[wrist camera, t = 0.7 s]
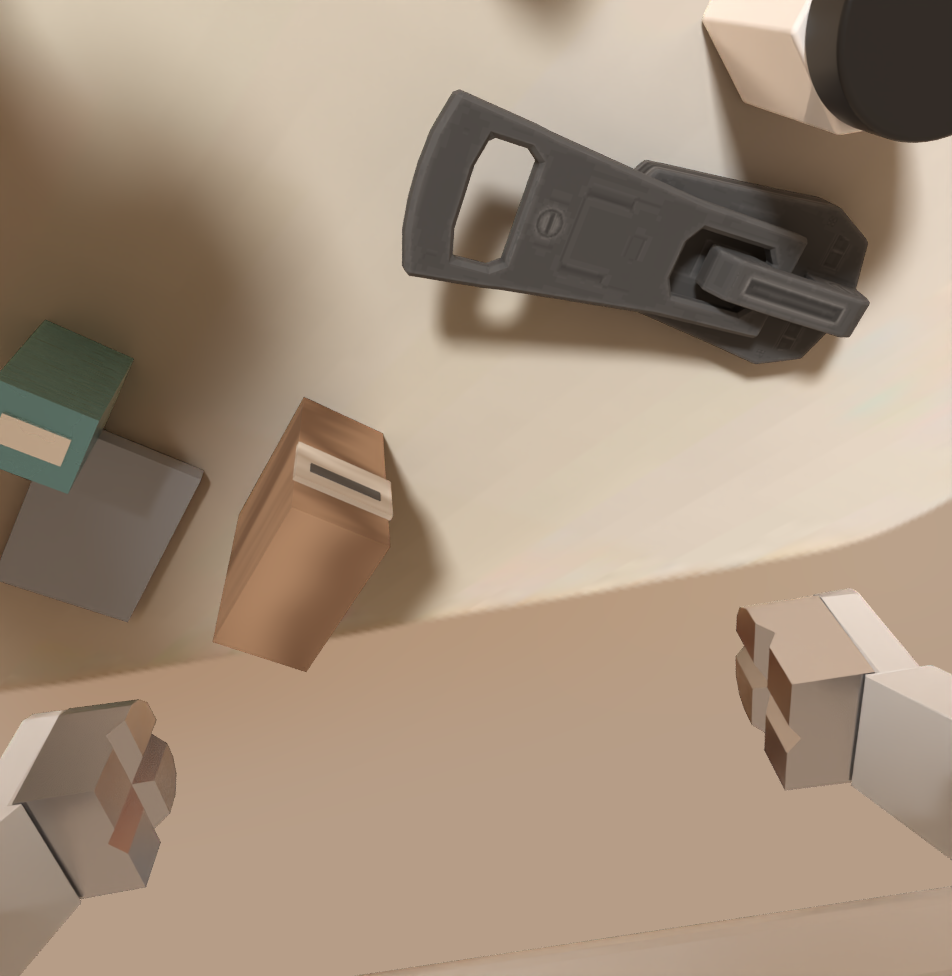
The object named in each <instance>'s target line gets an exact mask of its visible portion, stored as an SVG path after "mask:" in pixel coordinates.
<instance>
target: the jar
mask: <svg viewBox="0 0 952 976" xmlns="http://www.w3.org/2000/svg"><path fill="white" fill-rule="evenodd" d="M702 20H703V24H704V26H705V27H706V29H707V31H708V33H709V35H710V37H711V39H712V41H713V43H714V45H715V47H716V49H717V51H718V53H719V55H720V57H721V59H722V61H723V63H724V65H725V67H726V69H727V71H728V73H729V75H730V77H731V79H732V81H733V83H734V85H735V87H736V89H737V91H738V93H739V95H740V97H741V99H742V100H743V102H744V103H747V104H749V105H752V106H755V107H758V108H761V109H764V110H767V111H770V112H773V113H775V114H778V115H781V116H784V117H787V118H790V119H793V120H796V121H798V122H801V123H804V124H807V125H810V126H813V127H816V128H819V129H822V130H824V131H827V132H830V133H833V134H836V135H843V134H849V133H855V132H861V131H865V132H869V133H872V134H875V135H878V136H881V137H884V138H887V139H891V140H894V141H899V142H908V143H918V142H928V141H933V140H938V139H942V138H945V137H948V136H951V135H952V0H710V2H709V4H708V6H707V8H706V11H705V13H704V15H703V17H702Z"/></svg>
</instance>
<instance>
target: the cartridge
mask: <svg viewBox="0 0 952 976" xmlns="http://www.w3.org/2000/svg"><path fill="white" fill-rule="evenodd" d="M133 360H134V359H133V358H131V357H128V356H126V355H124V354H122V353H119V352H117V351H115V350H113V349H110V348H108V347H106V346H104V345H101V344H99V343H97V342H95V341H92V340H90V339H88V338H86V337H83V336H81V335H79V334H76V333H74V332H72V331H70V330H67V329H65V328H63V327H61V326H58V325H56V324H54V323H52V322H49V321H47V320H45V321H44V322H43V323H42V324H41V325H40V326H39V327H38V329H37V330H36V331H35V332H34V333H33V334H32V335H31V337H30V338H29V339H28V340H27V341H26V342H25V344H24V345H23V346H22V347H21V348H20V349H19V350H18V352H17V353H16V354H15V355H14V356H13V357H12V358H11V360H10V361H9V362H8V363H7V364H6V365H5V367H4V368H3V369H2V370H1V371H0V469H1V470H4V471H7V472H9V473H12V474H15V475H18V476H20V477H23V478H26V479H28V480H31V481H34V482H37V483H39V484H42V485H45V486H47V487H50V488H53V489H56V490H58V491H61V492H64V493H66V494H68V493H69V491H70V490H71V488H72V486H73V484H74V482H75V480H76V478H77V477H78V475H79V473H80V471H81V469H82V467H83V465H84V464H85V462H86V460H87V458H88V456H89V454H90V452H91V451H92V449H93V447H94V445H95V443H96V441H97V439H98V438H99V436H100V434H101V432H102V430H103V428H104V427H105V425H106V422H107V420H108V418H109V415H110V413H111V411H112V408H113V406H114V404H115V401H116V399H117V397H118V394H119V392H120V390H121V387H122V385H123V383H124V381H125V378H126V376H127V374H128V371H129V369H130V367H131V364H132V362H133Z"/></svg>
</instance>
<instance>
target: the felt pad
mask: <svg viewBox="0 0 952 976" xmlns="http://www.w3.org/2000/svg"><path fill="white" fill-rule="evenodd" d="M203 471H204V470H201V469H199V468H196V467H194V466H191V465H189V464H187V463H184V462H182V461H179V460H177V459H174V458H172V457H169V456H167V455H164V454H162V453H159V452H157V451H154V450H152V449H149V448H147V447H144V446H142V445H140V444H137V443H135V442H132V441H130V440H127V439H125V438H122V437H120V436H117V435H115V434H112V433H110V432H107V431H105V430H102V432H101V434H100V436H99V438H98V439H97V441H96V443H95V445H94V447H93V449H92V451H91V452H90V454H89V456H88V458H87V460H86V462H85V464H84V465H83V467H82V469H81V471H80V473H79V475H78V477H77V478H76V480H75V482H74V484H73V486H72V488H71V490H70V491H69V493H68V494H66V493H64V492H61V491H58V490H56V489H53V488H50V487H47V486H45V485H42V484H39V483H37V482H34V481H32V482H31V484H30V487H29V489H28V492H27V494H26V497H25V499H24V502H23V504H22V507H21V509H20V512H19V514H18V517H17V519H16V522H15V524H14V527H13V529H12V532H11V534H10V537H9V539H8V542H7V544H6V547H5V549H4V552H3V554H2V557H1V559H0V582H3V583H6V584H9V585H12V586H15V587H19V588H22V589H25V590H28V591H31V592H34V593H37V594H41V595H44V596H47V597H50V598H53V599H56V600H59V601H63V602H66V603H69V604H72V605H75V606H78V607H81V608H85V609H88V610H91V611H94V612H97V613H100V614H103V615H106V616H110V617H113V618H116V619H119V620H122V621H125V622H128V621H129V619H130V617H131V615H132V613H133V611H134V609H135V607H136V606H137V604H138V602H139V600H140V598H141V596H142V594H143V592H144V590H145V588H146V586H147V584H148V582H149V580H150V578H151V576H152V574H153V572H154V570H155V568H156V567H157V565H158V563H159V561H160V559H161V557H162V555H163V553H164V551H165V549H166V547H167V545H168V543H169V541H170V539H171V537H172V535H173V533H174V531H175V529H176V527H177V526H178V524H179V522H180V520H181V518H182V516H183V514H184V512H185V510H186V508H187V506H188V504H189V502H190V500H191V498H192V496H193V494H194V492H195V490H196V488H197V487H198V485H199V483H200V481H201V478H202V475H203Z"/></svg>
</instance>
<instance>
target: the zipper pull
mask: <svg viewBox="0 0 952 976" xmlns="http://www.w3.org/2000/svg"><path fill="white" fill-rule="evenodd" d="M494 138H498V139H501V140H504V141H507V142H510V143H513V144H516V145H519V146H522V147H525V148H528V150H529V151H530V153H531V154H532V156H533V157H534V159H535V162H534V165H533V168H532V171H531V174H530V176H529V179H528V182H527V185H526V188H525V191H524V193H523V196H522V199H521V202H520V205H519V208H518V211H517V213H516V216H515V219H514V222H513V225H512V228H511V230H510V233H509V236H508V239H507V242H506V245H505V248H504V250H503V253H502V256H501V258H498V259H496V260H493V261H491V262H488V263H483V262H479V261H475V260H472V259H468V258H464V257H460V256H456V255H453V240H454V228H455V224H456V221H457V218H458V215H459V212H460V209H461V205H462V202H463V199H464V196H465V193H466V190H467V187H468V183H469V180H470V177H471V174H472V171H473V168H474V165H475V163H476V162H477V160H478V158H479V157H480V155H481V153H482V151H483V150H484V148H485V146H486V145H487V143H488V141H489V140H492V139H494ZM867 245H868V242H867V240H866V238H865V237H864V236H863V234H862V233H861V232H860V231H859V230H858V228H857V227H856V226H855V225H854V224H853V222H852V221H851V220H850V219H849V217H848V216H847V215H846V214H845V213H844V211H843V210H842V209H841V208H840V207H837V206H835V205H833V204H831V203H829V202H827V201H825V200H823V199H821V198H819V197H815V196H810V195H805V194H799V193H794V192H789V191H784V190H779V189H774V188H770V187H765V186H761V185H756V184H752V183H748V182H743V181H739V180H734V179H730V178H725V177H721V176H717V175H712V174H708V173H703V172H699V171H695V170H690V169H686V168H681V167H677V166H673V165H668V164H664V163H658V162H654V161H649V160H644V161H643V162H641V163H640V164H639V165H638V166H637V167H636V168H635V169H633V168H631V167H628V166H626V165H624V164H622V163H620V162H617V161H615V160H613V159H611V158H609V157H606V156H604V155H602V154H600V153H598V152H595V151H593V150H591V149H589V148H587V147H584V146H582V145H580V144H578V143H575V142H573V141H571V140H569V139H567V138H564V137H562V136H560V135H558V134H556V133H553V132H551V131H549V130H547V129H545V128H544V127H542V126H540V125H538V124H536V123H534V122H532V121H529V120H527V119H525V118H523V117H520V116H518V115H516V114H514V113H511V112H509V111H507V110H505V109H502V108H500V107H498V106H496V105H493V104H491V103H489V102H487V101H485V100H482V99H480V98H478V97H476V96H473V95H471V94H469V93H467V92H464V91H462V90H457V91H454V92H452V94H451V96H450V97H449V99H448V101H447V102H446V104H445V106H444V108H443V109H442V111H441V113H440V114H439V116H438V118H437V119H436V121H435V123H434V124H433V126H432V128H431V129H430V132H429V134H428V137H427V140H426V142H425V145H424V147H423V150H422V152H421V155H420V158H419V160H418V163H417V167H416V170H415V173H414V177H413V180H412V184H411V188H410V191H409V195H408V199H407V205H406V211H405V216H404V222H403V227H402V266H403V268H404V270H405V271H406V272H407V274H408V275H409V276H415V277H421V278H427V279H433V280H439V281H445V282H451V283H457V284H463V285H469V286H475V287H481V288H490V289H498V290H505V291H512V292H518V293H524V294H530V295H536V296H543V297H549V298H555V299H561V300H568V301H574V302H580V303H586V304H593V305H599V306H605V307H611V308H617V309H624V310H630V311H636V312H639V313H641V314H644V315H646V316H648V317H651V318H653V319H655V320H657V321H660V322H662V323H664V324H666V325H669V326H671V327H673V328H676V329H678V330H680V331H682V332H685V333H687V334H689V335H692V336H694V337H696V338H698V339H701V340H703V341H705V342H708V343H710V344H712V345H714V346H717V347H719V348H721V349H723V350H725V351H727V352H730V353H732V354H734V355H736V356H738V357H740V358H743V359H745V360H747V361H749V362H751V363H754V364H759V363H768V362H776V361H785V360H793V359H800V358H802V357H803V356H804V355H805V354H806V353H807V352H808V351H809V350H810V349H811V348H812V347H813V346H814V345H815V344H816V343H817V342H818V341H819V340H820V339H821V338H822V337H823V336H824V335H825V334H826V333H828V334H831V335H834V336H837V337H850V336H851V334H852V332H853V331H854V329H855V327H856V326H857V324H858V322H859V321H860V319H861V317H862V316H863V314H864V312H865V311H866V309H867V307H868V306H869V303H870V302H869V301H868V299H867V298H866V297H864V296H863V295H862V294H861V293H859V292H858V291H857V290H856V286H857V282H858V279H859V275H860V271H861V267H862V263H863V260H864V256H865V252H866V248H867Z"/></svg>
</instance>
